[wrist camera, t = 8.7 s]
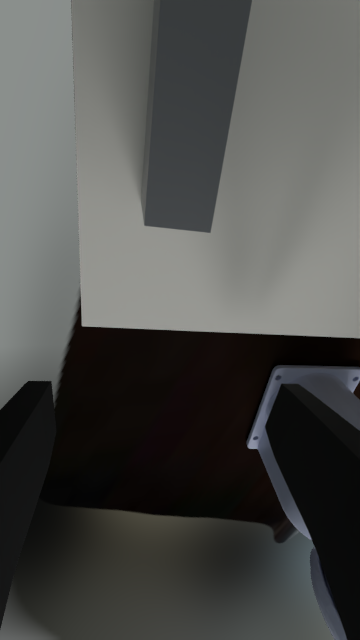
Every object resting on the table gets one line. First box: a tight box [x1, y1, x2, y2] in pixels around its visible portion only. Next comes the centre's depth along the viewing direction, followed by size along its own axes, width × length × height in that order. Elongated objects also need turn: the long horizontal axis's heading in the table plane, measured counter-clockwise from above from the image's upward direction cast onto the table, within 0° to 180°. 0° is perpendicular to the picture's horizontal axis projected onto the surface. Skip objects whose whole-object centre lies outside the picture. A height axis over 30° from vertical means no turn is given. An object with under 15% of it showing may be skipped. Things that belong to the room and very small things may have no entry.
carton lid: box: [71, 0, 360, 338], centre depth 8 cm, size 14×14×4 cm
